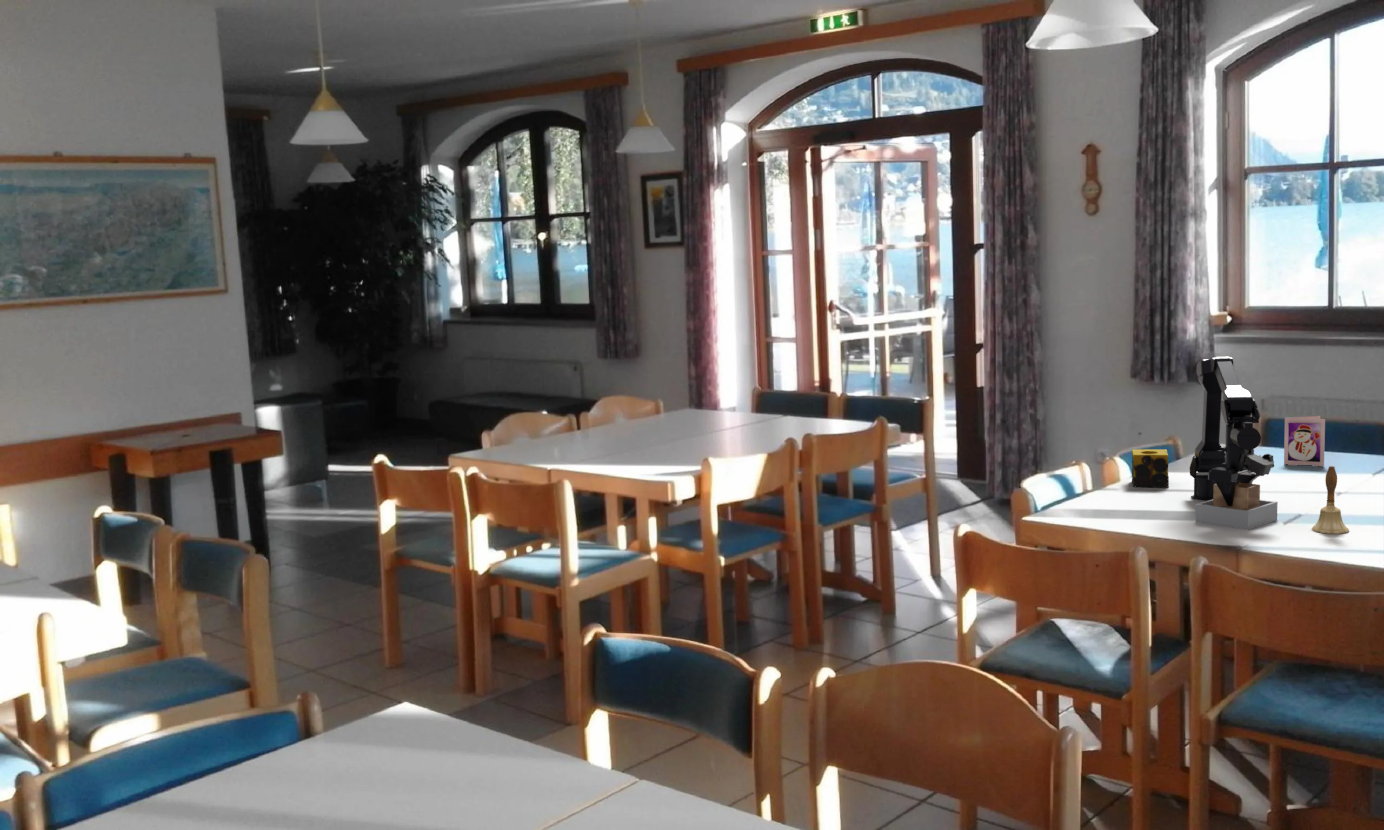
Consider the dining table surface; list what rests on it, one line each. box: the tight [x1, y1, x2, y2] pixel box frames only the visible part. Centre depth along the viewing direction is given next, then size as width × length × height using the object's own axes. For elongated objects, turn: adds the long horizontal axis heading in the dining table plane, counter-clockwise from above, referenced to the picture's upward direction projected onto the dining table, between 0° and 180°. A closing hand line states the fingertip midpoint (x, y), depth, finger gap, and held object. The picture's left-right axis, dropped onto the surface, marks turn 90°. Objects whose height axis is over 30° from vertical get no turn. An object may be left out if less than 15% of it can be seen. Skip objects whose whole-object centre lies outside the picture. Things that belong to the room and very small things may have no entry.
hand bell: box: [1311, 465, 1350, 535], centre depth 319 cm, size 8×8×16 cm
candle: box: [1131, 448, 1170, 489], centre depth 386 cm, size 10×10×10 cm
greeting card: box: [1283, 415, 1326, 467], centre depth 408 cm, size 11×7×15 cm, turn 58°
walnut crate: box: [1213, 482, 1261, 510], centre depth 334 cm, size 9×6×6 cm
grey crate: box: [1195, 499, 1278, 531], centre depth 334 cm, size 14×15×5 cm
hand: (1236, 503), depth 334 cm, fingers closed on walnut crate, 6 cm apart
